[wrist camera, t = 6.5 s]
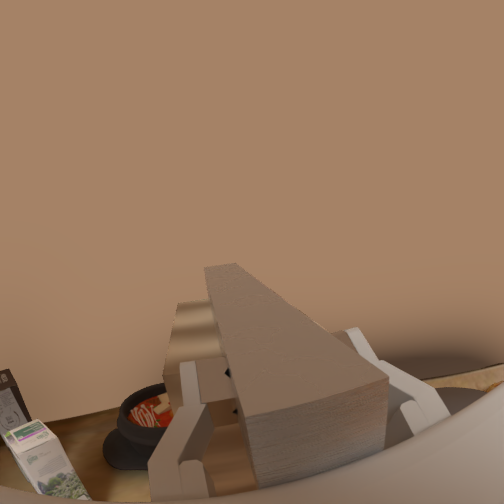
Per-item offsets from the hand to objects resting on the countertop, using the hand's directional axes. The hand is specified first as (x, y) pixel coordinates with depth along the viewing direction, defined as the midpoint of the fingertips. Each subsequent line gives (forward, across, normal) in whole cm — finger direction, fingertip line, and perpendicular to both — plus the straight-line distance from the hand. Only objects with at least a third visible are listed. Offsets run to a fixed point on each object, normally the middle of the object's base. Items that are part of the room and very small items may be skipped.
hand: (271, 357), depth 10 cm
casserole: (+14, +11, +41) cm, 45 cm away
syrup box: (0, +24, +32) cm, 40 cm away
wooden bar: (+6, 0, +6) cm, 8 cm away
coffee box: (+9, +36, +38) cm, 53 cm away
